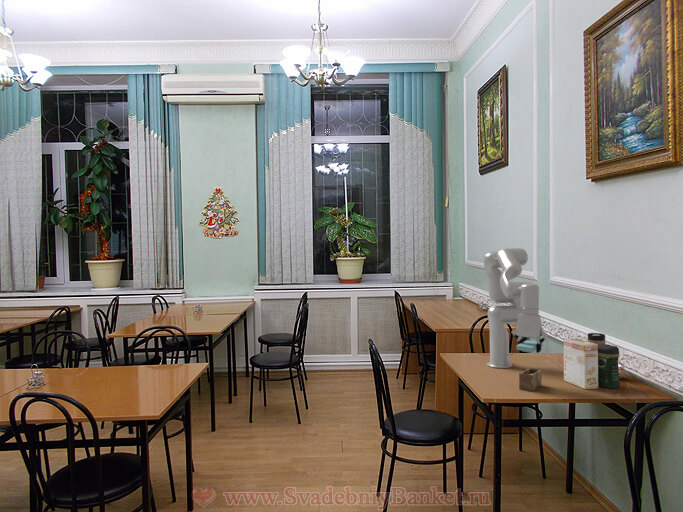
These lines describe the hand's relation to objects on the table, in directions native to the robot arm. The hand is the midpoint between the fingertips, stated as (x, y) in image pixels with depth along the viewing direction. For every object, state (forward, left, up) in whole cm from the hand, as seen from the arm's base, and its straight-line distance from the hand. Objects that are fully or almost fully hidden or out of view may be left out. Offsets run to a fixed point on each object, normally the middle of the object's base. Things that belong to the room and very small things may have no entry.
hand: (529, 350), depth 222 cm
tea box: (+1, +1, -16) cm, 16 cm away
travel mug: (-37, +18, -16) cm, 45 cm away
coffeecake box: (-17, +17, -16) cm, 29 cm away
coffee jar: (-21, +27, -16) cm, 38 cm away
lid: (0, 0, +1) cm, 1 cm away
